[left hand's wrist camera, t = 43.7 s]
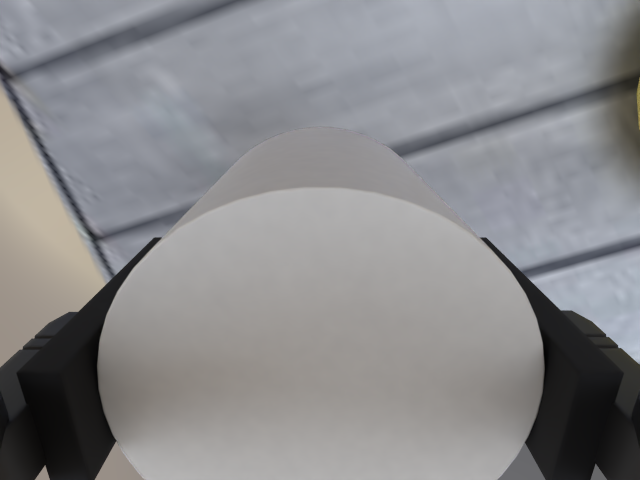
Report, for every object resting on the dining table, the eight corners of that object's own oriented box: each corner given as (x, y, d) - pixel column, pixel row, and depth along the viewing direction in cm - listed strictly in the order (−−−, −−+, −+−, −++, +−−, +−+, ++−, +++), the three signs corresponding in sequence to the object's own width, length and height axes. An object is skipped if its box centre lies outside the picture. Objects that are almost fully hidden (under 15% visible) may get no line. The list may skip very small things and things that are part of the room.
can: (465, 290, 17) (592, 478, 9) (273, 367, 19) (238, 590, 11) (381, 81, 15) (458, 89, 6) (162, 191, 16) (-3, 313, 8)
